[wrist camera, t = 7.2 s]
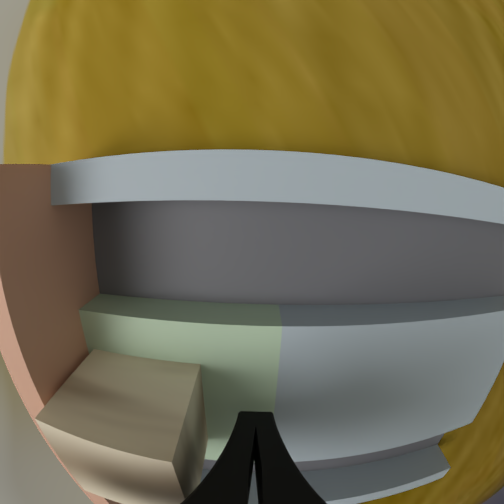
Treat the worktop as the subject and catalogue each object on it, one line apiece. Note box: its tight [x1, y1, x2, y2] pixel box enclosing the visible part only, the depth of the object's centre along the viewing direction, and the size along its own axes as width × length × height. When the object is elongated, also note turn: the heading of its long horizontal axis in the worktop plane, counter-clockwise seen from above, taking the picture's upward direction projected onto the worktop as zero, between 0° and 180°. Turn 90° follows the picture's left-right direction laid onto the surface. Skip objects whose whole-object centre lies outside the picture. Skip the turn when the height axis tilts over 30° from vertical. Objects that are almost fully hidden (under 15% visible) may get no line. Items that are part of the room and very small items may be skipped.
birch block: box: [35, 349, 208, 504], centre depth 9 cm, size 5×5×5 cm
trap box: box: [0, 150, 504, 504], centre depth 10 cm, size 21×24×6 cm
